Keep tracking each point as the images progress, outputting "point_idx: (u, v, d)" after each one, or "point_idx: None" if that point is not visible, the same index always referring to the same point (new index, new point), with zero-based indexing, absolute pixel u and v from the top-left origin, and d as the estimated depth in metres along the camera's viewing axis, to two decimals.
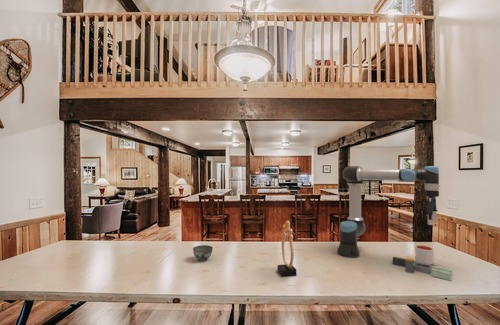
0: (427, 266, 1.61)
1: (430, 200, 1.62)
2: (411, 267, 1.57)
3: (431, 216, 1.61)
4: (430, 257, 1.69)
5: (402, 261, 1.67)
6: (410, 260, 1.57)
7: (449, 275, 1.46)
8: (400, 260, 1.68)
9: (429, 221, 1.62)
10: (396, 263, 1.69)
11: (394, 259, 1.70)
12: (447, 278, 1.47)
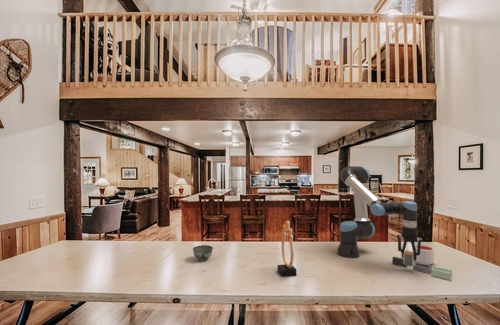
0: (427, 266, 1.61)
1: None
2: (410, 261, 1.58)
3: (402, 255, 1.62)
4: (430, 257, 1.69)
5: (402, 261, 1.67)
6: (409, 254, 1.58)
7: (449, 275, 1.46)
8: (400, 260, 1.68)
9: None
10: (396, 263, 1.69)
11: (394, 259, 1.70)
12: (447, 278, 1.47)
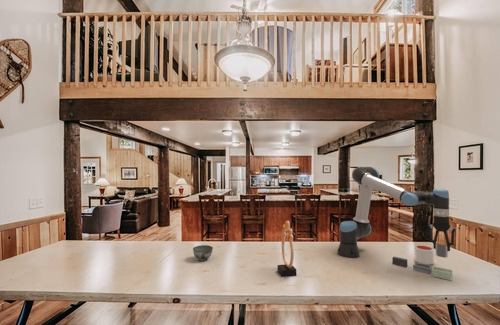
0: (427, 266, 1.61)
1: None
2: (443, 251, 1.50)
3: (434, 245, 1.54)
4: (430, 257, 1.69)
5: (402, 261, 1.67)
6: (442, 244, 1.50)
7: (449, 275, 1.46)
8: (400, 260, 1.68)
9: (436, 250, 1.54)
10: (396, 263, 1.69)
11: (394, 259, 1.70)
12: (447, 278, 1.47)
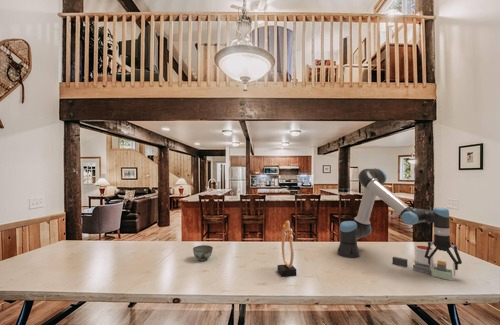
0: (427, 266, 1.61)
1: (428, 243, 1.56)
2: (444, 271, 1.49)
3: (429, 261, 1.55)
4: None
5: (402, 261, 1.67)
6: (442, 264, 1.50)
7: (449, 275, 1.46)
8: (400, 260, 1.68)
9: (430, 266, 1.56)
10: (396, 263, 1.69)
11: (394, 259, 1.70)
12: (447, 278, 1.47)
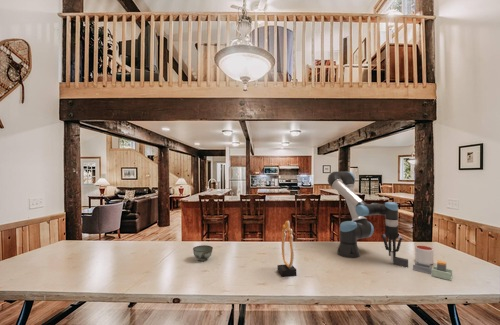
0: (427, 266, 1.61)
1: None
2: (444, 271, 1.49)
3: (389, 253, 1.72)
4: (430, 257, 1.69)
5: (403, 261, 1.67)
6: (442, 264, 1.50)
7: (449, 275, 1.46)
8: (400, 260, 1.68)
9: None
10: (397, 263, 1.69)
11: (395, 259, 1.70)
12: (447, 278, 1.47)
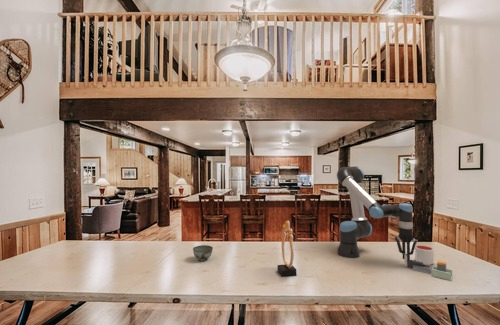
0: (427, 266, 1.61)
1: None
2: (444, 271, 1.49)
3: (403, 256, 1.67)
4: (430, 257, 1.69)
5: (417, 264, 1.61)
6: (442, 264, 1.50)
7: (449, 275, 1.46)
8: (415, 263, 1.62)
9: None
10: (411, 266, 1.64)
11: (409, 262, 1.65)
12: (447, 278, 1.47)
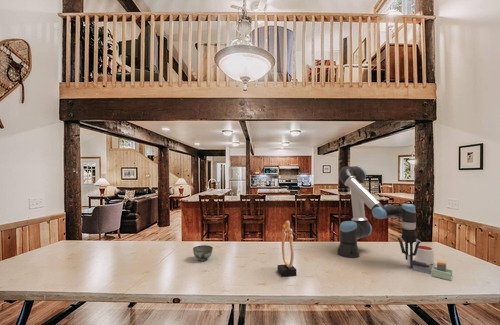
0: (427, 266, 1.61)
1: None
2: (444, 271, 1.49)
3: (406, 257, 1.66)
4: (430, 257, 1.69)
5: (421, 265, 1.60)
6: (442, 264, 1.50)
7: (449, 275, 1.46)
8: (418, 263, 1.61)
9: None
10: None
11: (412, 263, 1.64)
12: (447, 278, 1.47)
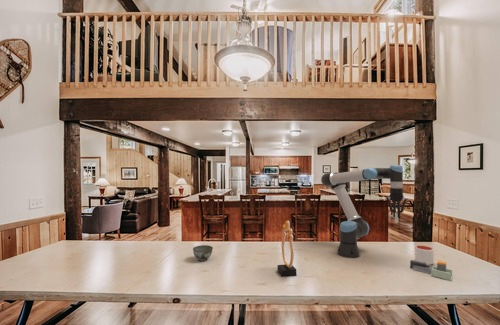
0: (427, 266, 1.61)
1: None
2: (444, 271, 1.49)
3: (394, 214, 1.76)
4: (430, 257, 1.69)
5: (421, 265, 1.60)
6: (442, 264, 1.50)
7: (449, 275, 1.46)
8: (418, 263, 1.61)
9: None
10: None
11: (412, 263, 1.63)
12: (447, 278, 1.47)
